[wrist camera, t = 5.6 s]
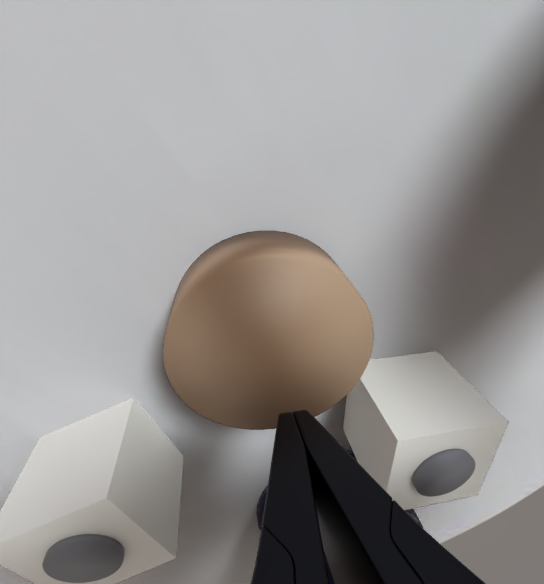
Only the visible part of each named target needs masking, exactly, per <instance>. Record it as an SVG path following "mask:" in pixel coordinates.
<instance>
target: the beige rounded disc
mask: <svg viewBox="0 0 544 584" xmlns="http://www.w3.org/2000/svg"><path fill="white" fill-rule="evenodd" d="M373 340H374V331H373V322H372V318H371V314H370V312H369V309H368V307H367V305H366V303H365V301H364V300H363V298H362V297H361V295H360V294H359V292H358V291H357V290H356V288H355V287H354V286H353V285H352V283H351V282H350V281H349V280H348V278H347V277H346V276H345V274H344V273H343V272H342V271H341V269H340V268H339V267H338V265H337V264H336V263H335V262H334V260H333V259H332V258H331V257H330V256H329V255H328V254H327V253H326V252H325V251H324V250H322V249H321V248H320V247H319V246H317V245H316V244H314V243H312V242H311V241H309V240H307V239H304V238H302V237H300V236H297V235H293V234H290V233H286V232H279V231H254V232H247V233H243V234H239V235H235V236H232V237H230V238H228V239H225V240H223V241H221V242H219V243H217V244H215V245H214V246H212V247H210V248H209V249H208V250H206V251H205V252H204V253H203V254H201V255H200V256H199V257H198V258H197V259H196V260H195V261H194V262H193V263H192V265H191V266H190V267H189V269H188V270H187V271H186V273H185V274H184V276H183V278H182V280H181V282H180V284H179V286H178V289H177V292H176V295H175V299H174V303H173V306H172V310H171V314H170V318H169V322H168V326H167V330H166V334H165V339H164V344H163V361H164V368H165V371H166V374H167V377H168V380H169V382H170V384H171V386H172V387H173V389H174V391H175V392H176V393H177V395H178V396H179V397H180V398H181V399H182V400H183V401H184V402H185V404H186V405H187V406H189V407H190V408H191V409H193V410H194V411H195V412H197V413H198V414H200V415H202V416H203V417H205V418H207V419H209V420H212V421H214V422H216V423H219V424H223V425H226V426H230V427H235V428H241V429H251V430H264V429H275V428H277V422H278V416H279V414H280V413H284V412H292V413H293V412H294V411H297V410H303V409H305V410H307V411H308V412H309V413H310V414H311V415H312V416H313V417H315V416H317V415H319V414H321V413H323V412H324V411H326V410H328V409H329V408H331V407H332V406H333V405H335V404H336V403H338V402H339V401H340V400H341V399H342V398H343V397H344V396H346V395H347V394H348V393H349V392H350V390H351V389H352V388H353V387H354V386H355V385H356V383H357V382H358V381H359V379H360V378H361V376H362V374H363V373H364V371H365V369H366V367H367V365H368V362H369V359H370V357H371V353H372V348H373Z"/></svg>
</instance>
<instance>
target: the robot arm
mask: <svg viewBox="0 0 544 584" xmlns="http://www.w3.org/2000/svg"><path fill="white" fill-rule="evenodd" d="M324 552H325V555H326V558H327V561H328V564H329V567H330V570H331V573H332V576H333V579H334V582H335V584H486V583H484V582H483V581H482V580H481V579H480V578H479V577H477V576H476V575H475V574H474V573H473V572H471V571H470V570H469V569H468V568H467V567H466V566H465V565H463V564H462V563H461V562H460V561H459V560H458V559H456V558H455V557H454V556H453V555H452V554H450V553H449V552H448V551H447V550H446V549H445V548H444V547H443V546H441V545H440V544H439V543H438V542H437V541H436V540H435V539H434V538H433V537H432V536H430V535H429V534H428V533H427V532H426V531H425V530H424V529H423V528H422V527H421V526H420V525H419V524H418V523H417V522H416V521H415V520H414V519H413V518H412V517H411V516H410V515H409V514H407V513H406V512H405V510H404V509H403V508H402V507H401V506H400V505H399V504H398V503H397V502H396V501H395V500H393V501H392V497H391V496H390V495H389V494H388V493H387V492H386V491H385V490H384V489H383V488H382V487H381V486H380V485H379V484H378V483H377V482H376V481H375V480H374V479H373V478H372V477H371V476H370V474H369V473H368V472H367V471H366V470H365V469H364V468H363V467H362V466H361V465H360V464H359V463H358V462H357V461H356V460H355V459H354V458H353V457H352V456H351V455H350V454H349V453H348V452H347V451H346V450H345V449H344V448H343V447H342V446H341V445H340V444H339V443H338V441H337V440H336V439H335V438H334V437H333V436H332V435H331V434H330V433H329V432H328V431H327V430H326V429H325V428H324V427H323V426H322V425H321V424H320V423H319V422H318V421H317V420H316V419H315V418H314V417H313V416H312V415H311V414H310V413H309V412H308V411H307V410H305V409H303V410H297V411H294V412H293V413H292V412H284V413H280V414H279V416H278V422H277V429H276V435H275V442H274V449H273V455H272V462H271V468H270V475H269V482H268V488H267V495H266V502H265V508H264V515H263V521H262V528H261V534H260V540H259V547H258V552H257V557H256V563H255V568H254V573H253V577H252V581H251V584H330V583H329V577H328V572H327V566H326V560H325V555H324Z"/></svg>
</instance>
